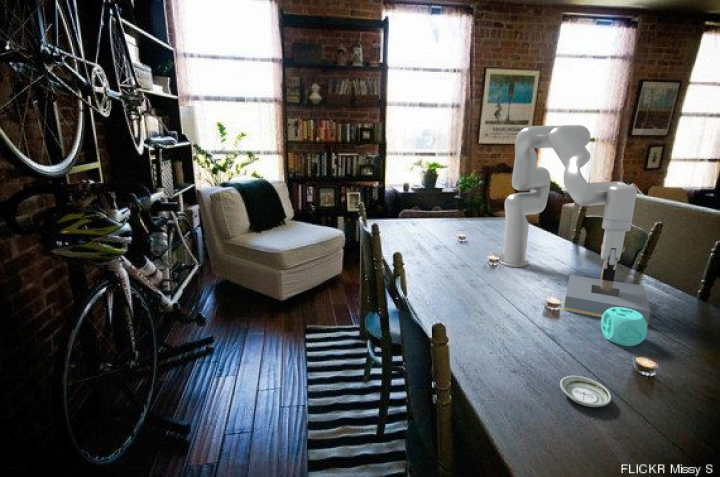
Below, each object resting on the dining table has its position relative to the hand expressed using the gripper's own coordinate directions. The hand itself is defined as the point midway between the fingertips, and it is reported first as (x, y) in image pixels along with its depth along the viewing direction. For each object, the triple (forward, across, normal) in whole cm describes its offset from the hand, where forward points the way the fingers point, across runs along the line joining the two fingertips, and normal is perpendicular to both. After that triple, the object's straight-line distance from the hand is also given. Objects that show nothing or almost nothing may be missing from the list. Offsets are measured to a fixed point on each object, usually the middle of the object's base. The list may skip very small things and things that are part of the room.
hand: (607, 277), depth 122 cm
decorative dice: (+10, +23, +4) cm, 25 cm away
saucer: (+10, +56, -4) cm, 57 cm away
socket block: (+10, 0, 0) cm, 10 cm away
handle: (+4, 0, 0) cm, 4 cm away
